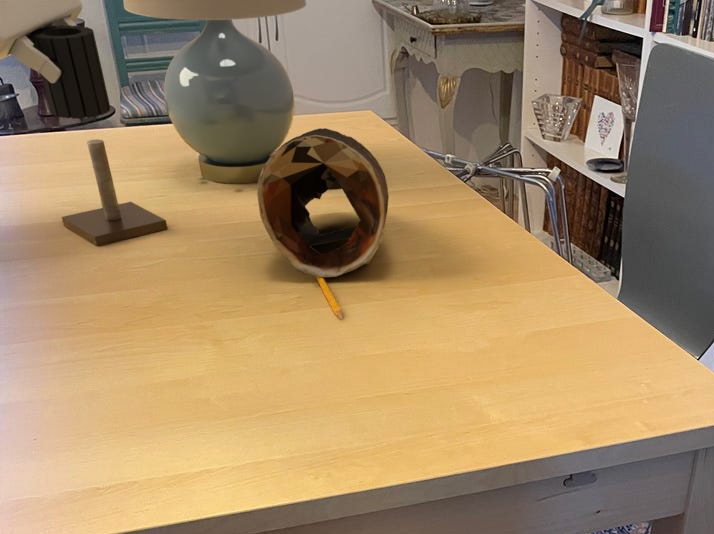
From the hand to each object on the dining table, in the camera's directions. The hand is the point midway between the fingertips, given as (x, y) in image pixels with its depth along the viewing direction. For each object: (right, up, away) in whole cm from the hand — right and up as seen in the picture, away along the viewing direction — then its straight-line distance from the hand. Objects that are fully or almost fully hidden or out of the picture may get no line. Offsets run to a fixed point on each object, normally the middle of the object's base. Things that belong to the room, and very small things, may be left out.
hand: (76, 69), depth 108 cm
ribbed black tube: (-1, -3, +3) cm, 4 cm away
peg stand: (-2, -11, +17) cm, 20 cm away
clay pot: (+28, -15, +13) cm, 34 cm away
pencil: (+29, -27, +1) cm, 40 cm away
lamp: (+10, +6, +36) cm, 38 cm away
